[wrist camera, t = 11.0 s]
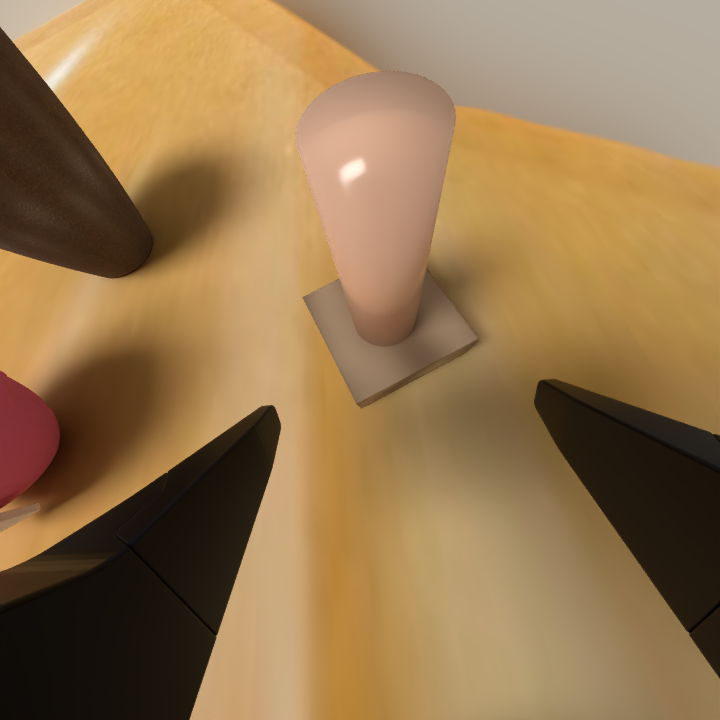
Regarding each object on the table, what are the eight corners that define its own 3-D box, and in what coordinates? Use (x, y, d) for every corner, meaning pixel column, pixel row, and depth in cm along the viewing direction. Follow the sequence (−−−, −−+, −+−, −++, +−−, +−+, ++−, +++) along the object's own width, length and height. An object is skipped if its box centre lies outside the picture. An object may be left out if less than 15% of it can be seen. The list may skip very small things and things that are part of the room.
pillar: (398, 357, 19) (410, 203, 7) (342, 330, 20) (266, 157, 8) (426, 304, 20) (481, 85, 8) (371, 282, 21) (343, 61, 9)
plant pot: (131, 184, 33) (-90, -31, 18) (210, 226, 29) (15, -2, 14) (42, 272, 30) (-308, 107, 15) (117, 331, 27) (-250, 189, 11)
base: (361, 408, 21) (356, 403, 18) (313, 313, 24) (302, 297, 22) (467, 351, 22) (478, 338, 19) (406, 265, 25) (407, 242, 22)
